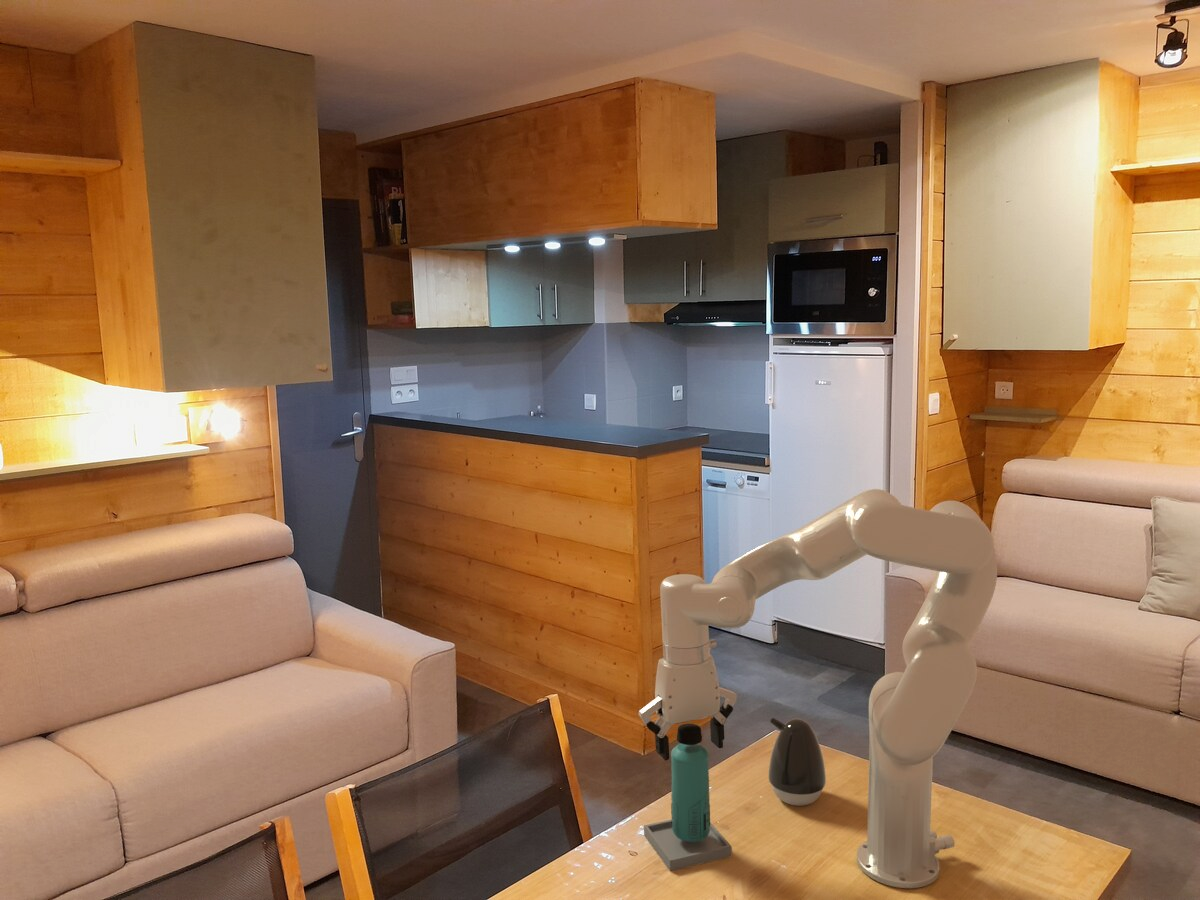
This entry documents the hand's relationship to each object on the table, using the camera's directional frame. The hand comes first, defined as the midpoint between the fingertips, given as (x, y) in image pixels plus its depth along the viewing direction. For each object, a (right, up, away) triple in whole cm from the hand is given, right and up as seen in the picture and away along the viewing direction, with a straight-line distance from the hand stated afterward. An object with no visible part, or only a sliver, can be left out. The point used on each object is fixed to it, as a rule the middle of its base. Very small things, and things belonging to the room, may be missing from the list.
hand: (690, 750), depth 153 cm
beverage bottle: (0, -16, +3) cm, 16 cm away
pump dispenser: (+21, -14, +17) cm, 31 cm away
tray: (0, -17, +3) cm, 17 cm away
